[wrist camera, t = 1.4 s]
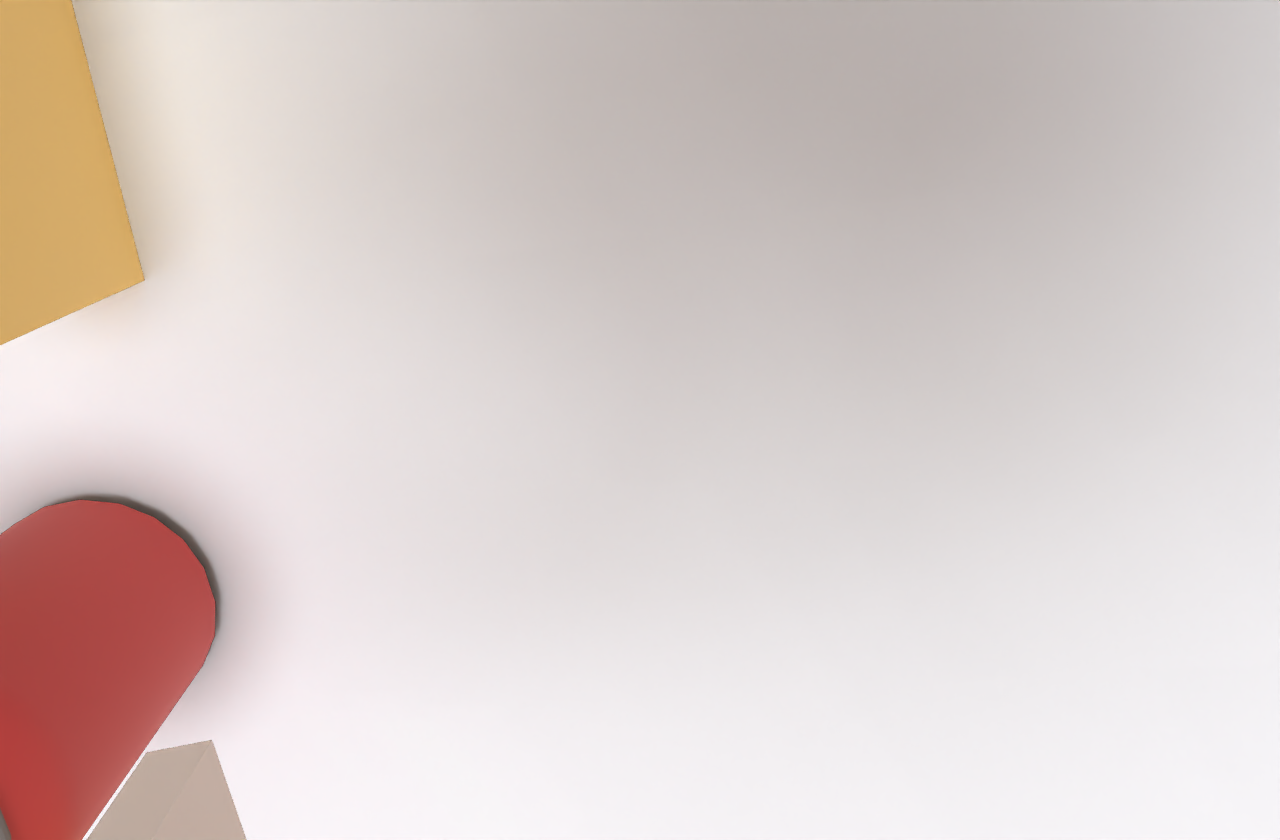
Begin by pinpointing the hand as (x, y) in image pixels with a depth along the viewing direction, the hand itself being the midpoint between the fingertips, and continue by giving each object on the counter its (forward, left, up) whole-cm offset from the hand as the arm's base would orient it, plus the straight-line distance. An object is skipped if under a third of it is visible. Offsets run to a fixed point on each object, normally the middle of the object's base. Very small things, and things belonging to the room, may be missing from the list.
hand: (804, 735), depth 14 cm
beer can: (+5, -18, -21) cm, 28 cm away
